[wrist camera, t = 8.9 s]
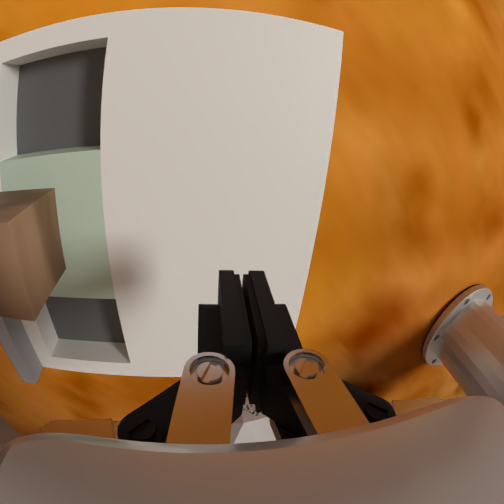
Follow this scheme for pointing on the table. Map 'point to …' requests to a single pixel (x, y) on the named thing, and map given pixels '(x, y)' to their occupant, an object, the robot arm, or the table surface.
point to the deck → (164, 173)
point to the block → (28, 251)
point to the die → (251, 426)
